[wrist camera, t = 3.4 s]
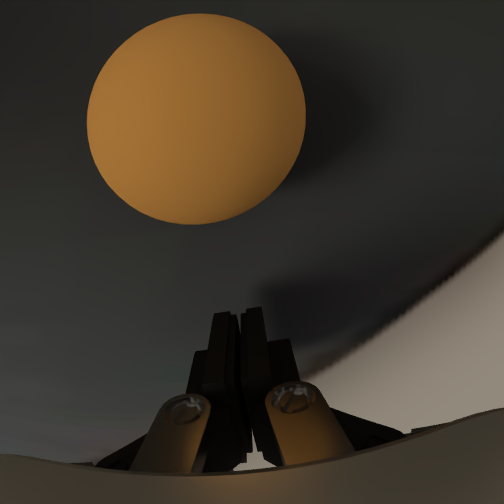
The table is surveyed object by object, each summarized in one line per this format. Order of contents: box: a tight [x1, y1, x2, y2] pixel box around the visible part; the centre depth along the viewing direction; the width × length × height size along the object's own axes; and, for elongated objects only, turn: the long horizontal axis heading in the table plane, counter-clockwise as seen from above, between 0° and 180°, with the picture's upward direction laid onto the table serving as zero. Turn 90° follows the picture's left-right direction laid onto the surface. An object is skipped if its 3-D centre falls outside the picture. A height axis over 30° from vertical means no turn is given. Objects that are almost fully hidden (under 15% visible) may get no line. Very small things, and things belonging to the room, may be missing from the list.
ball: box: [87, 14, 306, 224], centre depth 8 cm, size 6×6×6 cm
